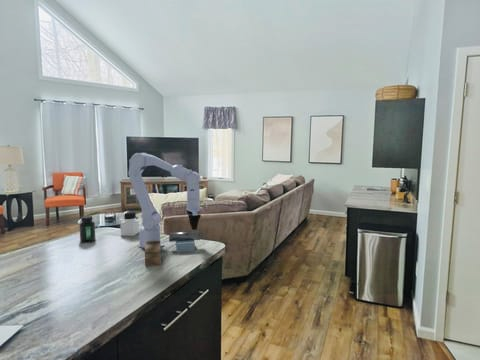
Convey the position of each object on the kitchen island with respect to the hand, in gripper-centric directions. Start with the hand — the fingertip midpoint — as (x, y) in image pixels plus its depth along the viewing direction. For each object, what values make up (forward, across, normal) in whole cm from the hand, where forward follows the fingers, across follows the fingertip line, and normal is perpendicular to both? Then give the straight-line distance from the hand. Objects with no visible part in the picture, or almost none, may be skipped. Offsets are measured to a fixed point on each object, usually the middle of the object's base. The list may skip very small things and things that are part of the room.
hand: (193, 227), depth 148 cm
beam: (+10, -11, +18) cm, 23 cm away
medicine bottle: (+10, +29, +31) cm, 43 cm away
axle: (+4, 0, +4) cm, 6 cm away
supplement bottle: (+10, +21, +50) cm, 55 cm away
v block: (+10, 0, +4) cm, 10 cm away
